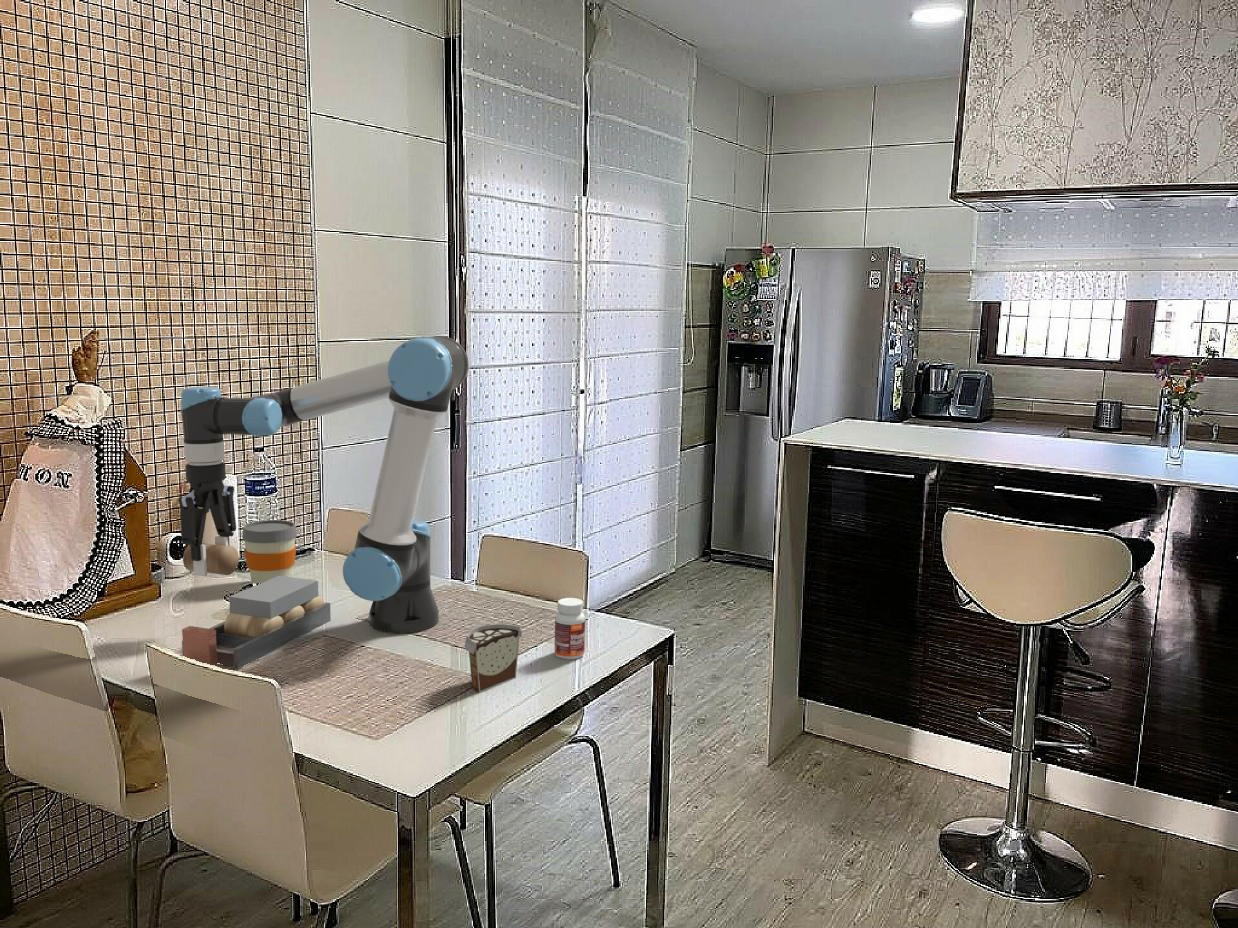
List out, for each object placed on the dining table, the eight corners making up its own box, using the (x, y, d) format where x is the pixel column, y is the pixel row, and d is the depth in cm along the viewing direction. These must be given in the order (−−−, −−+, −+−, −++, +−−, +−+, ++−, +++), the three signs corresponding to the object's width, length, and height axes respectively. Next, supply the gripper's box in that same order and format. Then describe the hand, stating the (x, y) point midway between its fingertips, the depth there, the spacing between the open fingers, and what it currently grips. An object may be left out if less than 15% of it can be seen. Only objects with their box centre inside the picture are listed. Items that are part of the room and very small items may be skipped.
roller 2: (285, 638, 194) (283, 611, 193) (266, 649, 188) (264, 621, 187) (244, 632, 197) (243, 605, 196) (225, 643, 191) (223, 615, 190)
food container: (499, 667, 183) (499, 618, 181) (521, 675, 179) (521, 626, 177) (450, 685, 173) (450, 634, 172) (473, 695, 170) (473, 643, 168)
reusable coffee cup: (297, 575, 239) (295, 518, 236) (299, 589, 227) (297, 530, 225) (244, 579, 234) (242, 521, 232) (244, 594, 223) (241, 533, 220)
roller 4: (325, 617, 207) (323, 592, 206) (308, 627, 201) (307, 601, 200) (286, 612, 210) (285, 587, 209) (269, 621, 204) (267, 595, 203)
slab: (318, 596, 204) (317, 580, 203) (271, 618, 189) (270, 602, 188) (279, 590, 207) (279, 575, 206) (230, 612, 192) (229, 596, 191)
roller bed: (330, 620, 207) (329, 585, 205) (225, 676, 175) (223, 635, 174) (280, 613, 210) (279, 578, 209) (169, 666, 179) (167, 626, 177)
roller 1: (236, 575, 196) (240, 546, 197) (216, 574, 191) (221, 545, 191) (201, 570, 199) (205, 542, 199) (180, 570, 193) (185, 541, 194)
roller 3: (305, 628, 200) (304, 601, 199) (288, 638, 195) (286, 610, 194) (266, 622, 203) (264, 596, 202) (248, 631, 198) (246, 605, 196)
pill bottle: (574, 662, 186) (575, 608, 184) (548, 656, 189) (549, 602, 187) (590, 653, 191) (591, 600, 189) (564, 647, 194) (565, 594, 192)
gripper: (222, 454, 201) (228, 557, 205) (155, 468, 184) (163, 581, 188) (251, 456, 199) (257, 560, 203) (186, 471, 181) (194, 585, 185)
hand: (212, 570), depth 195 cm, fingers closed on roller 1, 6 cm apart
